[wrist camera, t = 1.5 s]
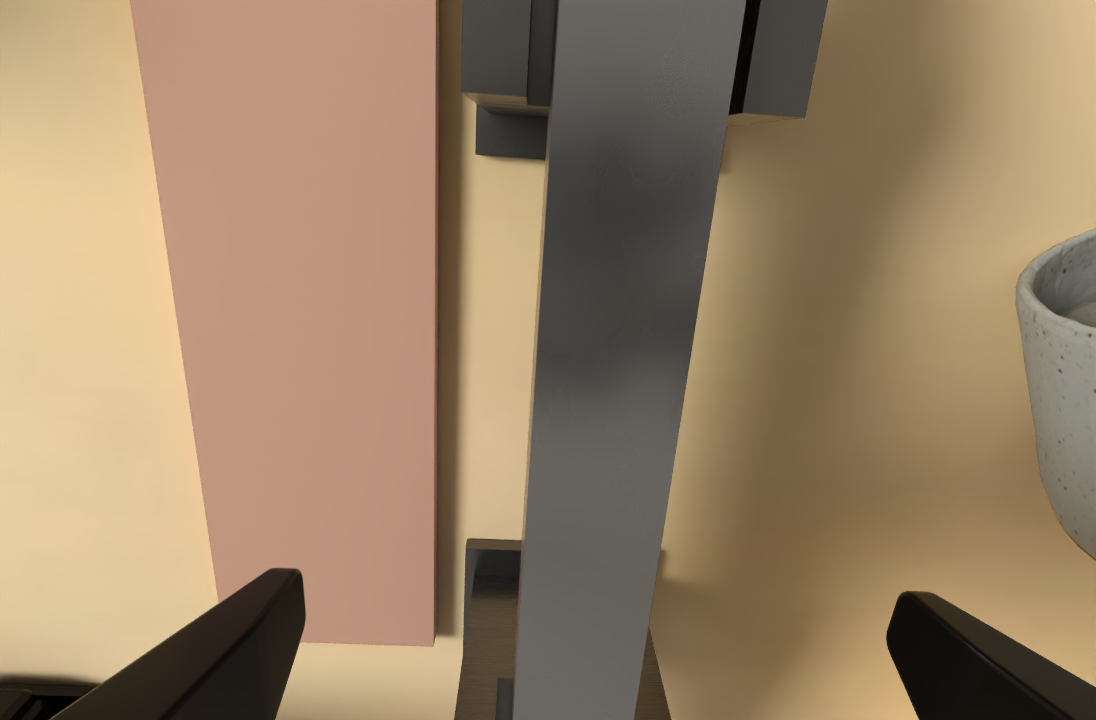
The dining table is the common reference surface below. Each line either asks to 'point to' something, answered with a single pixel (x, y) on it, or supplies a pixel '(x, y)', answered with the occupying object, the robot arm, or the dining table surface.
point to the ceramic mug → (1063, 378)
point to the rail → (614, 334)
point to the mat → (307, 291)
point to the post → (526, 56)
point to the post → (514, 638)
